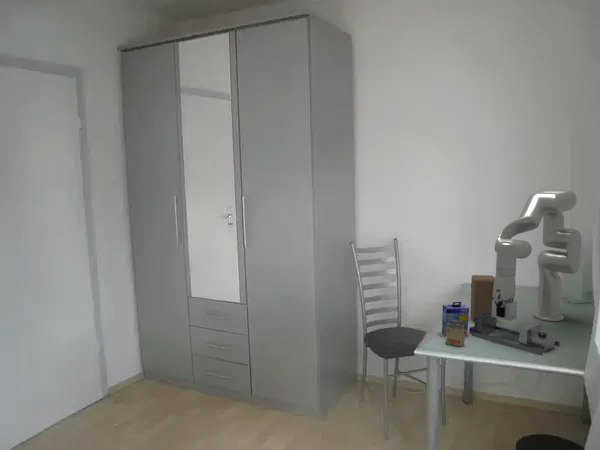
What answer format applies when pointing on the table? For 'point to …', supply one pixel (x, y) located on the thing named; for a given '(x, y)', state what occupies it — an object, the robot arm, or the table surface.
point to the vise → (488, 325)
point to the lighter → (455, 333)
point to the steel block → (506, 310)
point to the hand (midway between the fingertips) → (503, 314)
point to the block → (481, 294)
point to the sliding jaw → (536, 337)
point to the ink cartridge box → (455, 316)
